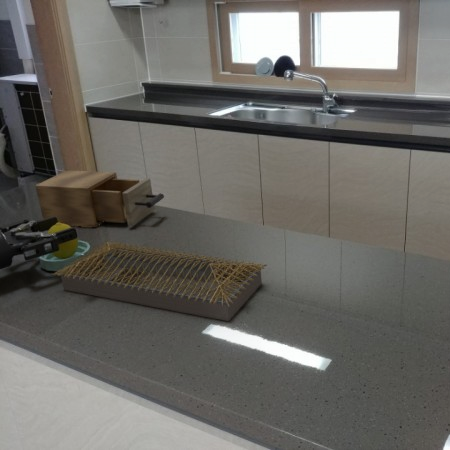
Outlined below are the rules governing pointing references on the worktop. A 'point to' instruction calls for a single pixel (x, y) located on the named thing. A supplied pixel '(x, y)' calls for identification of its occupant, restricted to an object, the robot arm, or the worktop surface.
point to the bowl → (57, 264)
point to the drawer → (124, 200)
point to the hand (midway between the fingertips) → (66, 226)
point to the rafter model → (166, 266)
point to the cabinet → (71, 197)
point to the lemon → (65, 248)
